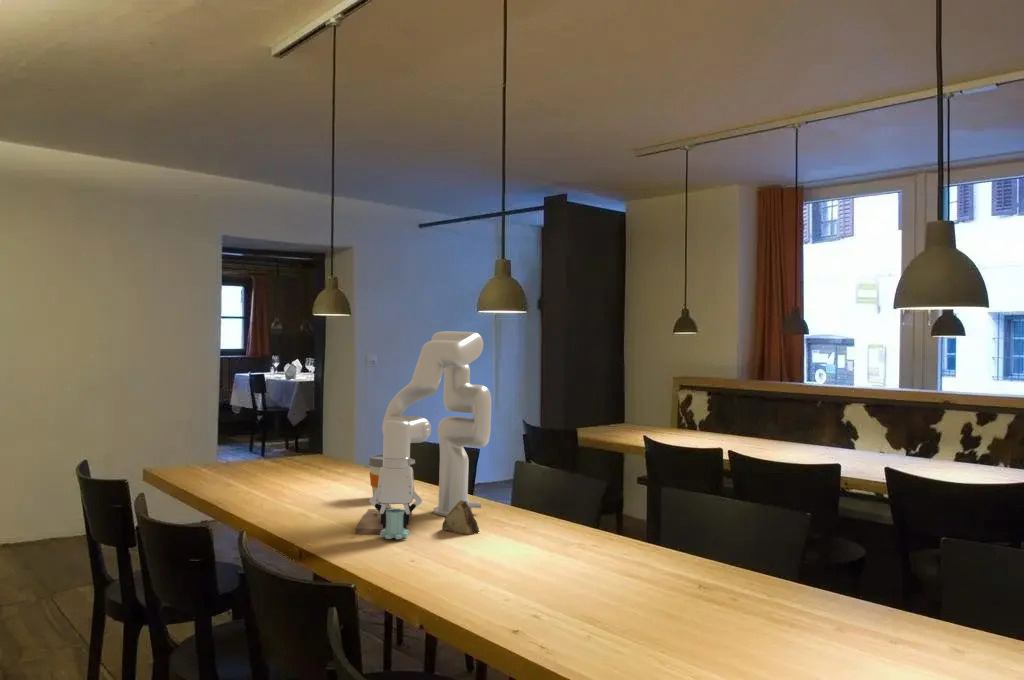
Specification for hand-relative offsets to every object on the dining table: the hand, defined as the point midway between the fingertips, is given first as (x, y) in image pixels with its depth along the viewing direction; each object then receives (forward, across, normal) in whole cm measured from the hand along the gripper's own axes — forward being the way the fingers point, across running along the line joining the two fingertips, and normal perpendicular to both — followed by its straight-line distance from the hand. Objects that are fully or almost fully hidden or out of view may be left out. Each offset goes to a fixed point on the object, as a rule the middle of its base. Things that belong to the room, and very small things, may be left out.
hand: (395, 526), depth 210 cm
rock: (+4, -18, -9) cm, 21 cm away
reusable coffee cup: (+5, +9, -51) cm, 52 cm away
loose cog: (+2, 0, 0) cm, 2 cm away
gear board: (+4, +5, -17) cm, 18 cm away
